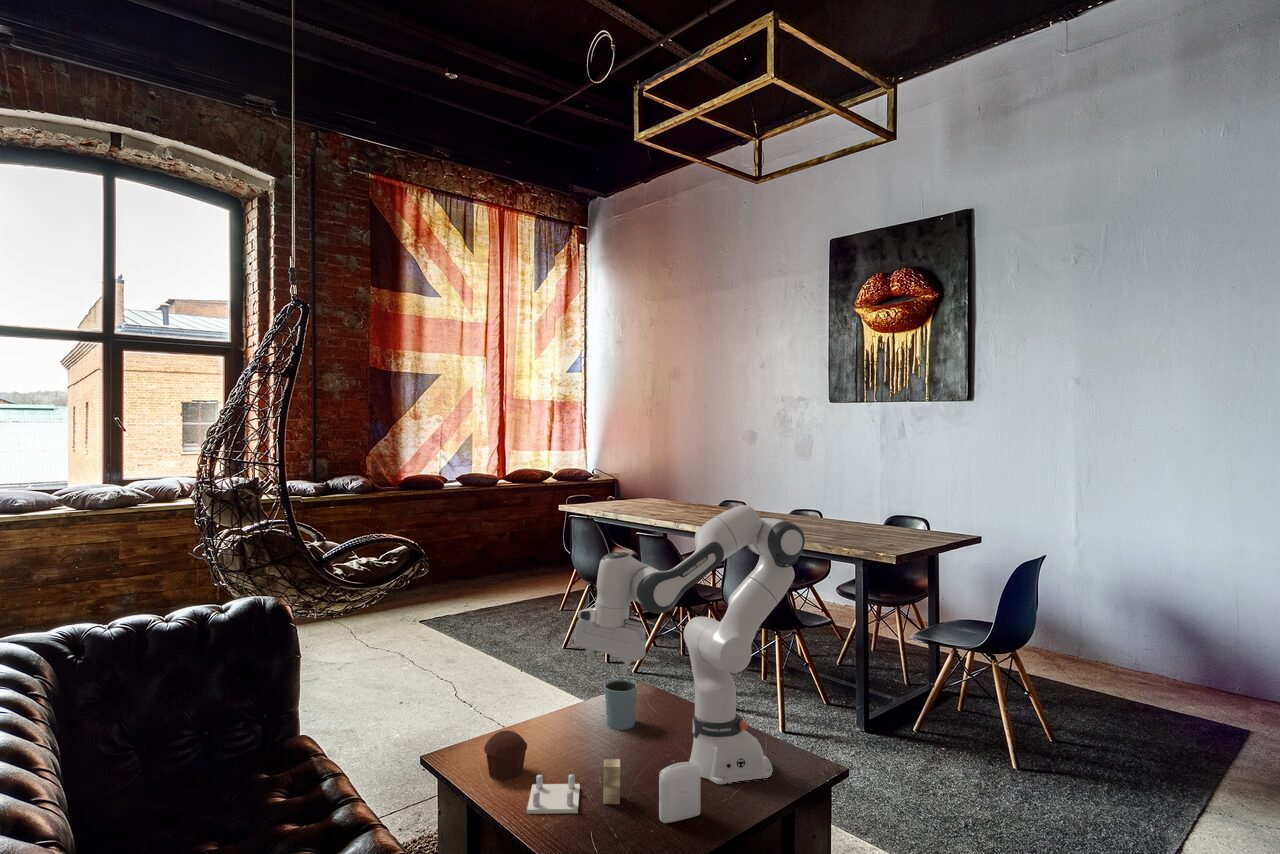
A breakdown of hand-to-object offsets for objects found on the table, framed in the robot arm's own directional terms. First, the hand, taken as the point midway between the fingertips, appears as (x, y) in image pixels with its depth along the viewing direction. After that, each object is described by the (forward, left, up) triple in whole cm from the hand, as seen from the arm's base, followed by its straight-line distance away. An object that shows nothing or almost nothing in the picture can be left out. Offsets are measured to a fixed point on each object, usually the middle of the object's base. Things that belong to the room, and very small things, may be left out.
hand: (607, 670), depth 180 cm
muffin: (+27, -8, -30) cm, 41 cm away
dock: (+13, +7, -29) cm, 33 cm away
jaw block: (-1, +7, -29) cm, 30 cm away
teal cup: (-4, -38, -30) cm, 48 cm away
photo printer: (-17, +15, -30) cm, 37 cm away
